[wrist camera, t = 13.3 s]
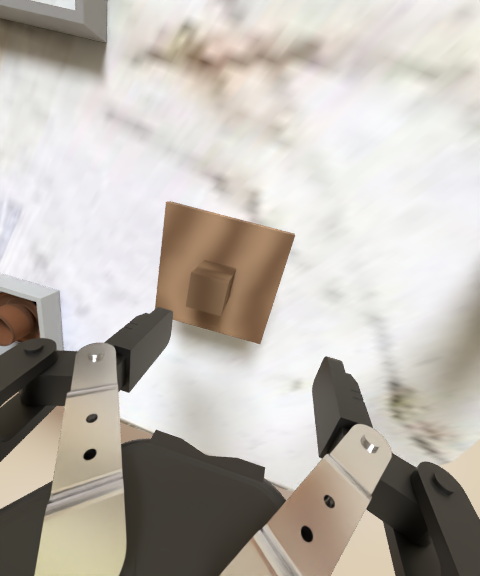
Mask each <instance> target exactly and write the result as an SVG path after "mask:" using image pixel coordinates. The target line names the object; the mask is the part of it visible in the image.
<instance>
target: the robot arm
mask: <svg viewBox="0 0 480 576" xmlns="http://www.w3.org/2000/svg"><path fill="white" fill-rule="evenodd" d="M172 320H173V311H171V310H168V309H164V308H161V307H157V308H156V309H155V310H154V311H153V312H152V313H150V314H148V313H145V314H142V315H139V316H137V317H135V318H134V319H133V320H132V321H130V323H128V324H127V325H125V326H124V328H122V329H121V330H119V331H118V332H117V333H116V334H114V335H113V336H112V337H111V338H109V339H108V340H107V341H106V342H105V343H93V344H89V345H86V346H84V347H83V348H81V349H80V350H79V351H61V350H57V345H56V342H55V341H53V340H51V339H47V338H35V339H30V340H27V341H24V342H21V343H19V344H18V345H16V346H14V347H13V348H11V349H9V350H8V351H6V352H4V353H3V354H1V355H0V406H1V405H2V404H3V403H4V402H5V401H7V400H8V399H9V398H10V397H12V396H13V395H14V394H15V393H17V392H18V391H19V393H18V394H17V395H16V396H14V397H13V398H12V399H11V400H9V401H8V402H7V403H6V404H4V405H3V406H2V407H1V408H0V462H1V461H2V460H3V459H4V457H6V456H7V455H8V454H9V453H10V452H11V451H12V450H13V449H14V448H15V447H16V446H17V445H18V444H19V443H20V442H21V441H22V439H24V438H25V437H26V436H27V435H28V434H29V433H30V432H31V431H32V430H33V429H34V428H35V427H36V426H37V425H38V424H39V423H40V422H41V421H42V420H43V419H44V418H45V417H46V416H47V415H48V414H49V413H50V412H51V411H52V410H53V409H54V408H55V407H56V406H65V409H64V415H63V421H62V427H61V434H60V440H59V446H58V452H57V459H56V465H55V471H54V477H53V481H51V482H50V483H48V484H46V485H44V486H42V487H40V488H38V489H37V490H35V491H33V492H32V493H30V494H27V495H26V496H24V497H22V498H20V499H18V500H16V501H15V502H13V503H11V504H9V505H7V506H5V507H4V508H2V509H0V576H331V574H332V572H333V570H334V568H335V566H336V564H337V562H338V561H339V559H340V557H341V555H342V553H343V551H344V549H345V547H346V546H347V544H348V542H349V539H350V538H351V536H352V534H353V532H354V531H355V529H356V527H357V525H358V523H359V521H360V519H361V517H362V516H363V514H364V512H365V510H366V509H367V510H368V511H369V512H371V513H372V514H374V515H375V516H376V517H378V518H379V519H381V520H382V521H383V523H384V528H385V532H386V536H387V540H388V545H389V549H390V554H391V558H392V562H393V567H394V571H395V575H396V576H480V519H479V517H478V516H477V514H476V512H475V510H474V508H473V506H472V504H471V502H470V500H469V499H468V497H467V495H466V493H465V491H464V490H463V488H462V487H461V485H460V484H459V483H458V482H457V481H456V480H455V479H454V478H453V476H451V475H450V474H449V473H448V472H447V471H445V470H444V469H443V468H441V467H439V466H438V465H436V464H433V463H430V462H422V463H420V464H419V465H418V467H417V468H416V467H414V466H413V465H411V464H409V463H408V462H406V461H404V460H402V459H401V458H399V457H397V456H396V455H394V454H393V453H392V452H391V448H390V446H389V444H388V443H387V441H386V440H385V438H384V437H383V436H382V435H381V434H380V433H379V432H377V431H376V430H375V429H373V427H372V424H371V421H370V418H369V415H368V412H367V409H366V406H365V403H364V402H363V397H362V395H361V392H360V389H359V386H358V383H357V382H356V381H355V379H354V378H353V377H352V376H351V374H348V373H345V370H344V366H343V363H342V361H340V360H337V359H333V358H330V357H325V358H324V359H323V361H322V363H321V366H320V368H319V370H318V373H317V375H316V377H315V379H314V383H313V388H312V395H313V404H314V414H315V424H316V433H317V443H318V452H319V457H320V458H323V459H322V460H321V461H320V462H319V463H318V464H317V466H316V467H315V468H314V469H313V470H312V471H311V473H310V474H309V475H308V476H307V477H306V478H305V480H304V481H303V482H302V483H301V484H300V485H299V487H298V488H297V489H296V490H295V491H294V492H293V494H292V495H291V496H290V497H289V498H288V500H287V501H286V500H285V499H284V497H283V496H282V495H281V493H280V492H279V491H278V490H277V489H276V488H275V487H274V486H273V485H272V484H271V483H270V482H269V481H267V480H266V479H264V471H265V467H262V466H259V465H256V464H253V463H251V462H248V461H245V460H242V459H239V458H231V457H216V456H207V455H205V454H203V453H202V452H200V451H199V450H197V449H196V448H195V447H193V446H192V445H190V444H189V443H187V442H186V441H184V440H183V439H181V438H178V437H175V436H172V435H170V434H167V433H164V432H161V431H158V430H156V431H155V433H154V434H153V436H152V438H151V439H137V440H132V441H129V442H125V443H123V444H121V436H120V415H119V395H118V392H119V391H120V390H122V391H125V392H128V393H129V392H130V391H131V390H132V389H133V387H134V386H135V385H136V384H137V382H138V381H139V380H140V379H141V377H142V376H143V375H144V374H145V372H146V371H147V370H148V369H149V367H150V366H151V365H152V364H153V362H154V361H155V360H156V359H157V357H158V356H159V355H160V354H161V353H162V351H163V350H164V349H165V348H166V346H167V344H168V342H169V340H170V336H171V329H172Z"/></svg>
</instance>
